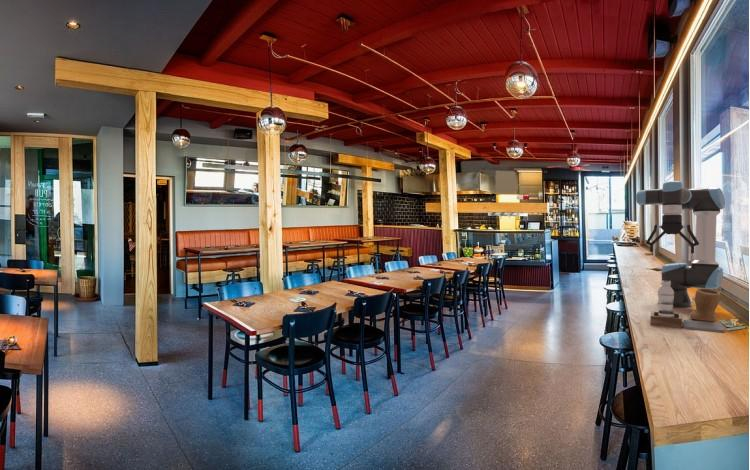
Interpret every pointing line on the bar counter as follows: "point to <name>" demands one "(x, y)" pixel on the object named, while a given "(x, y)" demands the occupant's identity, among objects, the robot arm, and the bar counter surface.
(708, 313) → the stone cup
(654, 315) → the walnut holder
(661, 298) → the plastic bottle
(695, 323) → the slate plate
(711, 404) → the bar counter surface
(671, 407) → the bar counter surface
